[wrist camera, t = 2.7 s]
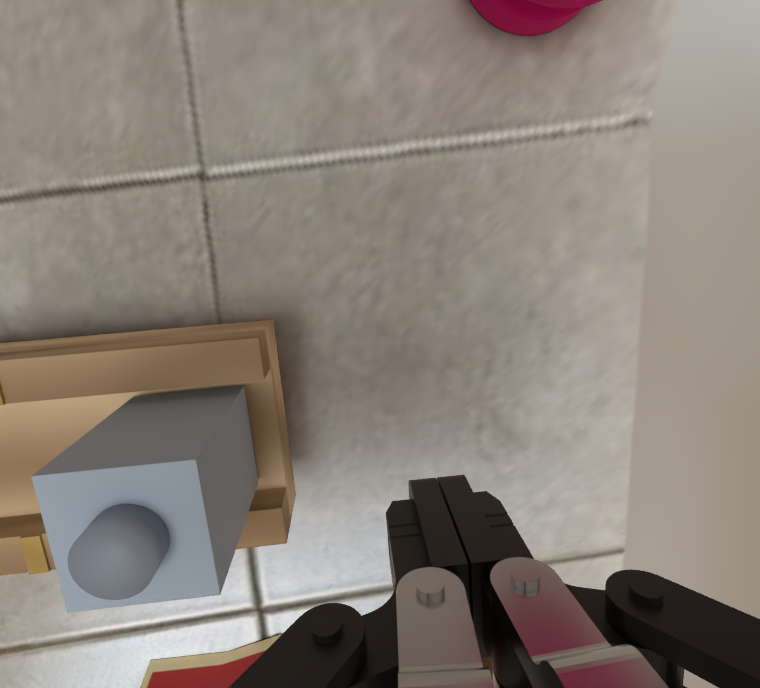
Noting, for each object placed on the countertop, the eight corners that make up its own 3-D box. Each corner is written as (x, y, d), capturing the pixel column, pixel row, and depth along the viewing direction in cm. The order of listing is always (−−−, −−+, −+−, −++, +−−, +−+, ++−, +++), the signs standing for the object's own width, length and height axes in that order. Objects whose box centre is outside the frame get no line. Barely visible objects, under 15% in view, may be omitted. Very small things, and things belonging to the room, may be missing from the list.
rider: (134, 395, 18) (2, 498, 11) (244, 385, 18) (182, 479, 11) (154, 493, 19) (44, 643, 12) (258, 482, 19) (209, 624, 12)
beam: (-166, 346, 22) (-586, 440, 12) (282, 308, 23) (235, 365, 13) (-110, 507, 23) (-432, 703, 14) (301, 465, 24) (273, 618, 15)
